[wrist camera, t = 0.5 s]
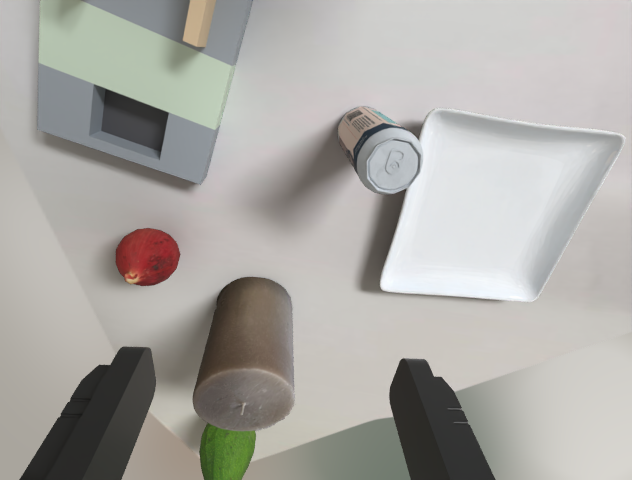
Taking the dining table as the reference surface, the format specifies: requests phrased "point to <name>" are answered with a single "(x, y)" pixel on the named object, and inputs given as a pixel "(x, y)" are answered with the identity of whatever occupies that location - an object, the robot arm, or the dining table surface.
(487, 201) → the salad plate
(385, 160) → the beer can
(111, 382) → the robot arm
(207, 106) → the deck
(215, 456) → the avocado
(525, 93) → the dining table surface
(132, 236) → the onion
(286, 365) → the pillar candle
